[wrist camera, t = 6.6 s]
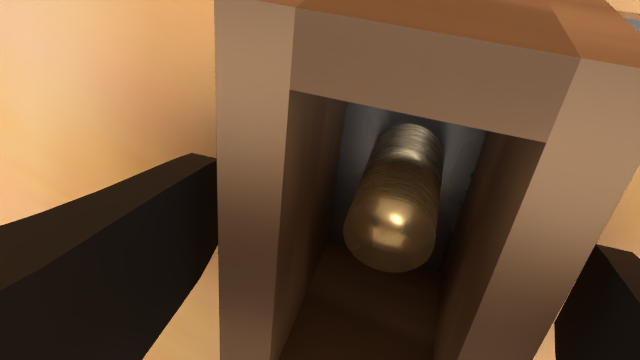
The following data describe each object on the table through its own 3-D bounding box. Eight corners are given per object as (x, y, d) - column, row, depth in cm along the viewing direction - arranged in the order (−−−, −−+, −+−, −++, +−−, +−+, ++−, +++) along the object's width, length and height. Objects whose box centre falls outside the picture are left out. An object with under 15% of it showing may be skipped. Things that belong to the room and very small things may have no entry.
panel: (519, 291, 14) (532, 415, 11) (263, 227, 16) (207, 320, 12) (642, 14, 10) (724, 81, 7) (272, -40, 11) (190, -7, 8)
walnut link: (469, 308, 14) (466, 480, 10) (289, 260, 15) (220, 400, 11) (595, -10, 9) (687, 76, 5) (318, -53, 10) (214, -8, 6)
